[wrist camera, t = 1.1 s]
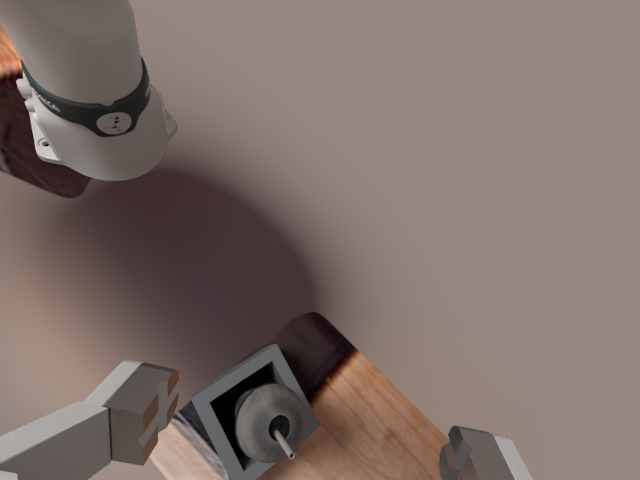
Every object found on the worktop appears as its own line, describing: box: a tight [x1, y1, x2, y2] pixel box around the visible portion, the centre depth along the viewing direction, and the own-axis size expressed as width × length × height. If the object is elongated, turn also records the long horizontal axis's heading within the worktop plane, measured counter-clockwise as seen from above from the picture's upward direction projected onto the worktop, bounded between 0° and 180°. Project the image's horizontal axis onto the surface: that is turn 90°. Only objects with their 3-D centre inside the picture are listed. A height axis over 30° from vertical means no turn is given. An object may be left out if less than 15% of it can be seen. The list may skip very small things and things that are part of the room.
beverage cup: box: [235, 383, 306, 463], centre depth 34 cm, size 7×7×20 cm
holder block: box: [191, 344, 320, 480], centre depth 41 cm, size 12×12×5 cm
